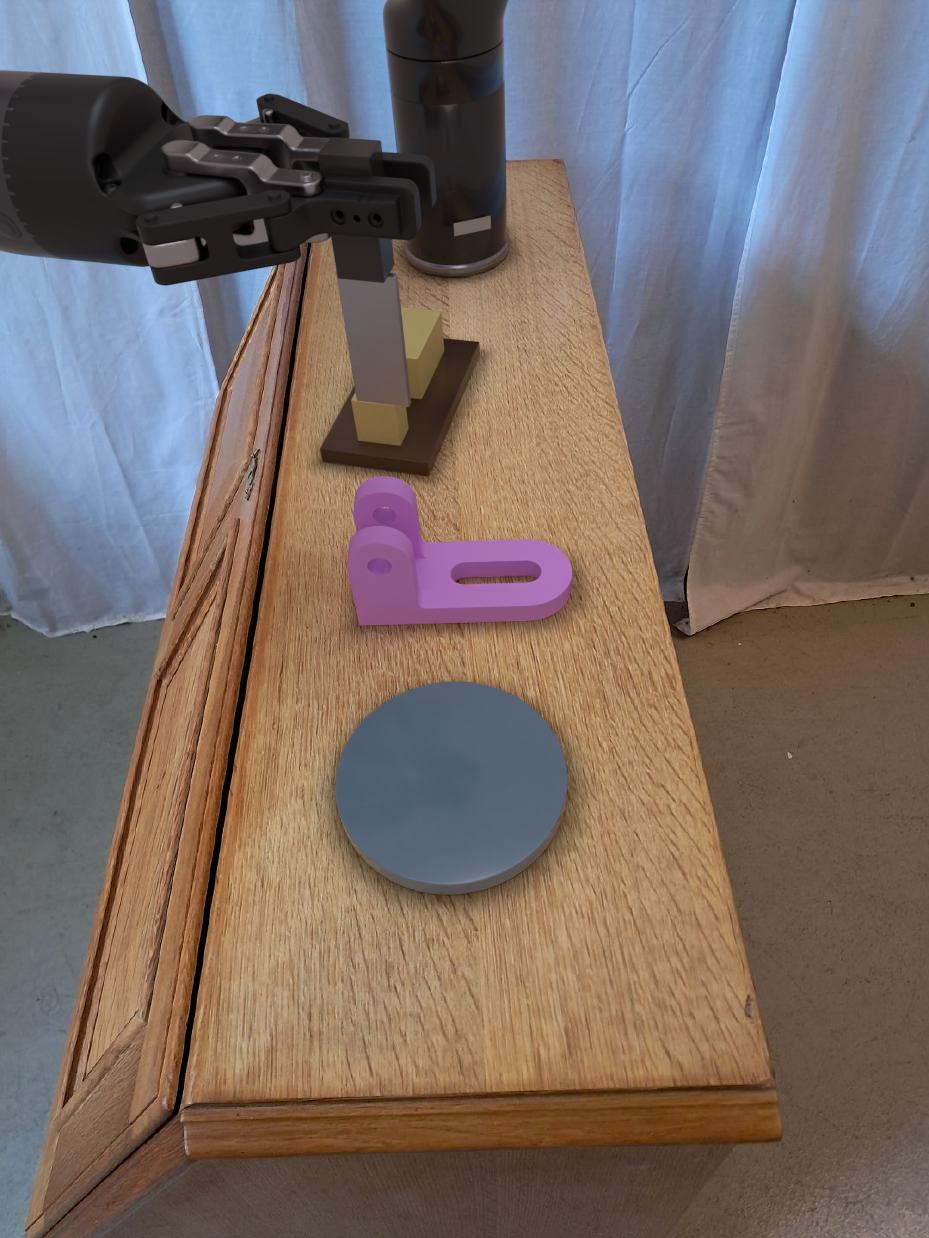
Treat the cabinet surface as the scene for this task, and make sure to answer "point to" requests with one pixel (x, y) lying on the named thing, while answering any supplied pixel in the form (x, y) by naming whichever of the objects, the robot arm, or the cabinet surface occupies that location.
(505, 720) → the plate
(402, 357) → the knife
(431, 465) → the board
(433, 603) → the bracket
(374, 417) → the butter slice
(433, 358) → the butter
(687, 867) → the cabinet surface
